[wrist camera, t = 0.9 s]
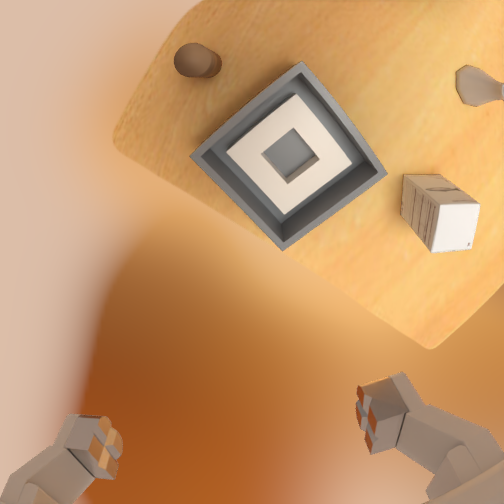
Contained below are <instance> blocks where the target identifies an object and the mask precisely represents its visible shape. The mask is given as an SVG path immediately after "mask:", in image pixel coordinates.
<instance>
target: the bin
mask: <svg viewBox="0 0 504 504" xmlns="http://www.w3.org/2000/svg"><path fill="white" fill-rule="evenodd" d="M189 157H190V158H191V159H192V160H193V161H194V162H195V163H196V164H197V165H198V166H199V167H200V168H201V169H202V170H203V171H204V172H205V173H206V174H207V175H208V176H209V177H210V178H211V179H212V180H213V181H214V182H215V183H216V184H217V185H218V186H219V187H220V188H221V189H222V190H223V191H224V192H225V193H226V194H227V195H228V196H229V197H230V198H231V199H232V200H233V201H234V202H235V203H236V204H237V205H238V206H239V207H240V208H241V209H242V210H243V211H244V212H245V213H246V214H247V215H248V216H249V217H250V218H251V219H252V220H253V221H254V222H255V224H256V225H257V226H258V227H259V228H260V229H261V230H262V231H263V232H264V233H265V234H266V235H267V236H268V237H269V238H270V239H271V240H272V241H273V242H274V243H275V244H276V245H277V246H278V247H279V248H280V249H281V250H282V251H284V250H285V249H286V248H288V247H289V246H291V245H292V244H293V243H295V242H296V241H298V240H299V239H300V238H302V237H303V236H304V235H306V234H307V233H309V232H310V231H311V230H313V229H314V228H315V227H317V226H318V225H320V224H321V223H322V222H324V221H325V220H326V219H328V218H329V217H331V216H332V215H333V214H335V213H336V212H337V211H339V210H340V209H341V208H343V207H344V206H346V205H347V204H348V203H350V202H351V201H352V200H354V199H355V198H356V197H358V196H359V195H361V194H362V193H363V192H365V191H366V190H367V189H369V188H370V187H371V186H373V185H374V184H375V183H377V182H378V181H379V180H381V179H382V178H383V177H385V176H386V175H387V174H388V173H387V172H386V170H385V169H384V167H383V166H382V164H381V163H380V161H379V160H378V158H377V157H376V155H375V154H374V152H373V151H372V149H371V148H370V146H369V145H368V143H367V142H366V141H365V139H364V138H363V136H362V135H361V134H360V132H359V131H358V129H357V128H356V127H355V125H354V124H353V123H352V121H351V120H350V119H349V117H348V116H347V115H346V113H345V112H344V111H343V109H342V108H341V107H340V106H339V104H338V103H337V102H336V100H335V99H334V98H333V97H332V95H331V94H330V93H329V92H328V91H327V89H326V88H325V87H324V86H323V84H322V83H321V82H320V81H319V80H318V79H317V77H316V76H315V75H314V74H313V73H312V72H311V70H310V69H309V68H308V67H307V66H306V65H305V64H304V62H303V61H301V62H299V63H297V64H295V65H294V66H293V67H291V68H290V69H289V70H287V71H286V72H285V73H283V74H282V75H281V76H280V77H278V78H277V79H276V80H274V81H273V82H272V83H271V84H269V85H268V86H267V87H266V88H264V89H263V90H262V91H261V92H260V93H258V94H257V95H256V96H255V97H254V98H252V99H251V100H250V101H249V102H248V103H246V104H245V105H244V106H243V107H242V108H241V109H239V110H238V111H237V112H236V113H235V114H234V115H232V116H231V117H230V118H229V119H228V120H227V121H226V122H224V123H223V124H222V125H221V126H220V127H219V128H218V129H217V130H216V131H214V132H213V133H212V134H211V135H210V136H209V137H208V138H207V139H206V140H205V141H204V142H203V143H201V144H200V145H199V146H198V148H197V149H196V150H195V151H194V152H193V153H192V154H191V155H190V156H189Z"/></svg>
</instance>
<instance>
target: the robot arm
mask: <svg viewBox="0 0 504 504" xmlns="http://www.w3.org/2000/svg"><path fill="white" fill-rule="evenodd" d="M357 396H358V398H359V400H358V401H357V402H356V416H357V420H358V424H359V426H360V429H361V430H363V431H365V432H366V433H365V442H366V444H367V447H368V449H369V452H370V454H371V455H372V454H375V453H378V452H382V451H385V450H389V449H391V448H395V447H396V449H397V450H399V451H400V452H402V453H403V454H405V455H406V456H408V457H409V458H411V459H412V460H414V461H415V462H417V463H418V464H420V465H421V466H423V467H424V468H426V469H427V470H429V471H430V472H432V473H433V474H435V476H434V477H433V479H432V481H431V482H430V484H429V485H428V487H427V489H426V492H427V495H428V497H429V499H430V500H429V501H427V502H425V503H423V504H504V452H503V451H502V449H501V448H500V446H499V445H498V443H497V442H496V440H495V439H494V437H493V436H492V435H491V433H490V431H489V430H488V429H486V428H484V427H482V426H479V425H477V424H474V423H472V422H469V421H467V420H465V419H462V418H460V417H458V416H455V415H453V414H451V413H448V412H446V411H444V410H442V409H439V408H437V407H435V406H432V405H430V404H429V405H425V404H424V402H423V401H422V399H421V397H420V396H419V394H418V393H417V391H416V389H415V388H414V386H413V385H412V383H411V382H410V380H409V379H408V377H407V376H406V374H405V373H403V372H400V373H397V374H394V375H391V376H388V377H384V378H381V379H378V380H374V381H372V382H368V383H365V384H361V385H358V387H357ZM122 444H123V443H122V439H121V436H120V434H119V433H118V432H117V431H116V430H115V429H113V428H112V427H111V422H110V420H109V419H108V418H107V417H104V416H92V415H78V414H69V415H68V416H67V417H66V419H65V421H64V423H63V425H62V427H61V429H60V431H59V433H58V436H57V438H56V440H55V442H54V444H53V446H49V447H47V448H46V449H45V450H43V451H42V452H41V453H40V454H38V455H37V456H36V457H34V458H33V459H31V460H30V461H29V462H27V463H26V464H25V465H23V466H22V467H21V468H19V469H18V470H17V471H15V472H14V473H13V474H11V475H10V477H9V479H8V482H7V484H6V486H5V488H4V490H3V493H2V495H1V498H0V504H72V503H73V502H74V501H75V500H76V499H77V498H78V497H79V496H80V495H81V493H83V491H84V490H85V489H86V488H87V487H88V486H89V485H90V484H91V482H92V481H93V480H94V479H95V478H103V479H113V480H114V479H115V477H116V473H117V469H118V463H117V461H116V459H118V458H119V457H120V456H121V453H122V450H123V445H122Z"/></svg>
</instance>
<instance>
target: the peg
mask: <svg viewBox="0 0 504 504" xmlns="http://www.w3.org/2000/svg"><path fill="white" fill-rule="evenodd" d="M174 65H175V68H176V70H177V71H178V72H179V73H180V74H182V75H184V76H187V77H203V78H209V77H213V76H215V75H216V74H217V73H218V72H219V71H220V69H221V66H222V61H221V58H220V57H219V55H218V54H216V53H215V52H213V51H211V50H210V49H208V48H206V47H204V46H203V45H201V44H198V43H189V44H186V45H184V46H182V47H181V48H180V49H179V50H178V51H177V53H176V55H175V57H174Z"/></svg>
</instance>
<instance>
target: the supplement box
mask: <svg viewBox="0 0 504 504" xmlns="http://www.w3.org/2000/svg"><path fill="white" fill-rule="evenodd" d="M479 210H480V203H478V202H477V201H476V200H474V199H473V198H472V197H470V196H469V195H468V194H466V193H465V192H464V191H462V190H461V189H460V188H458V187H457V186H456V185H454V184H453V183H451V182H450V181H449V180H447V179H446V178H444V177H443V176H441V175H404V179H403V192H402V203H401V216H402V217H403V218H404V219H405V221H406V222H407V223H408V224H409V225H410V227H411V228H412V229H413V230H414V232H415V233H416V234H417V235H418V237H419V238H420V239H421V240H422V242H423V243H424V244H425V245H426V247H427V248H428V249H429V251H430V252H431V253H440V252H450V251H460V250H470V249H471V247H472V244H473V239H474V235H475V230H476V226H477V221H478V216H479Z"/></svg>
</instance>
